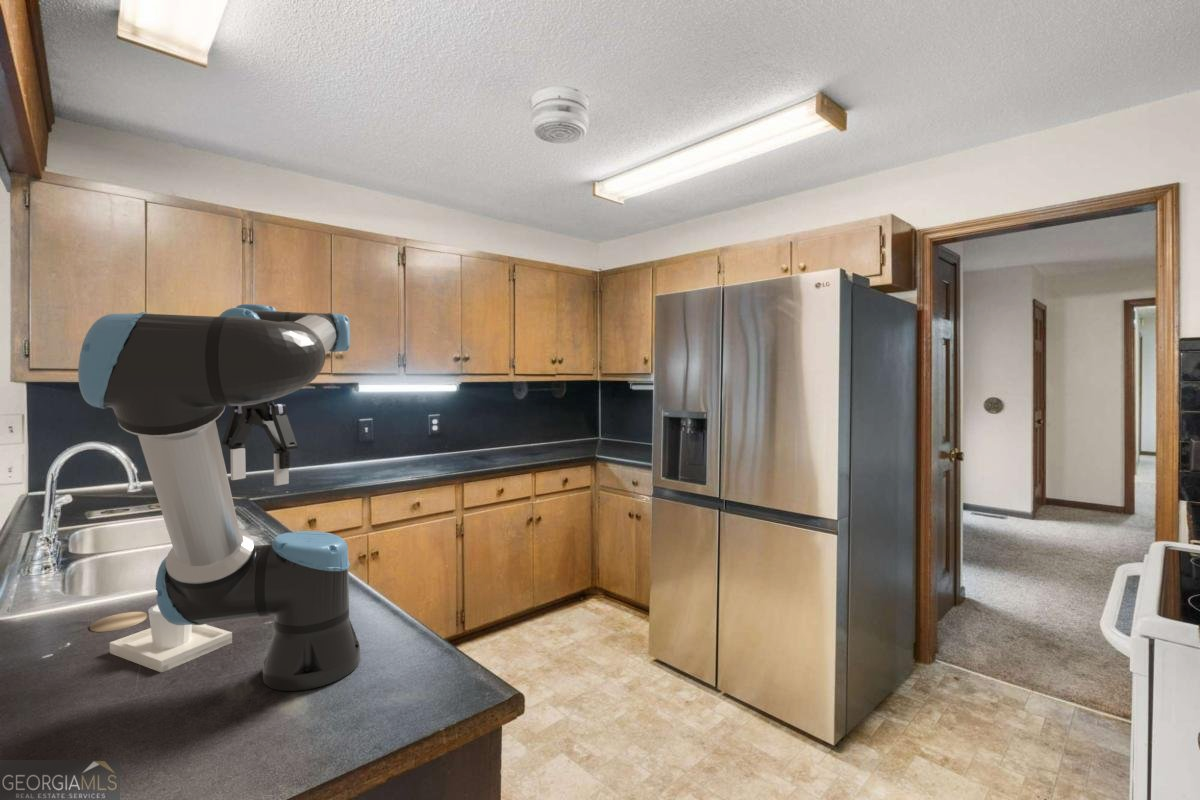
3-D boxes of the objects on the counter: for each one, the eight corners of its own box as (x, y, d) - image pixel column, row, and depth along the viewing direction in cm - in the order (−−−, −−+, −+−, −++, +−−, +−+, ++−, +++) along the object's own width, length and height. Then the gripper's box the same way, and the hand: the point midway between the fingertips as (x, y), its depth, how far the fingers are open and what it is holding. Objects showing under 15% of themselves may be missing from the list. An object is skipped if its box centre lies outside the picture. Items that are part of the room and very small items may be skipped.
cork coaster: (154, 620, 117) (154, 617, 117) (99, 637, 109) (99, 634, 109) (136, 611, 122) (136, 608, 122) (82, 626, 114) (82, 623, 114)
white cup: (188, 630, 109) (188, 595, 109) (200, 641, 105) (199, 604, 105) (144, 643, 104) (143, 606, 104) (154, 655, 100) (153, 616, 100)
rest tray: (232, 642, 107) (232, 632, 107) (161, 672, 96) (161, 661, 96) (181, 626, 113) (181, 617, 113) (109, 653, 102) (109, 642, 102)
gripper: (315, 380, 115) (317, 483, 116) (237, 379, 125) (238, 474, 126) (281, 380, 108) (283, 490, 109) (201, 379, 118) (203, 479, 119)
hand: (259, 481), depth 117 cm, fingers open, 13 cm apart
